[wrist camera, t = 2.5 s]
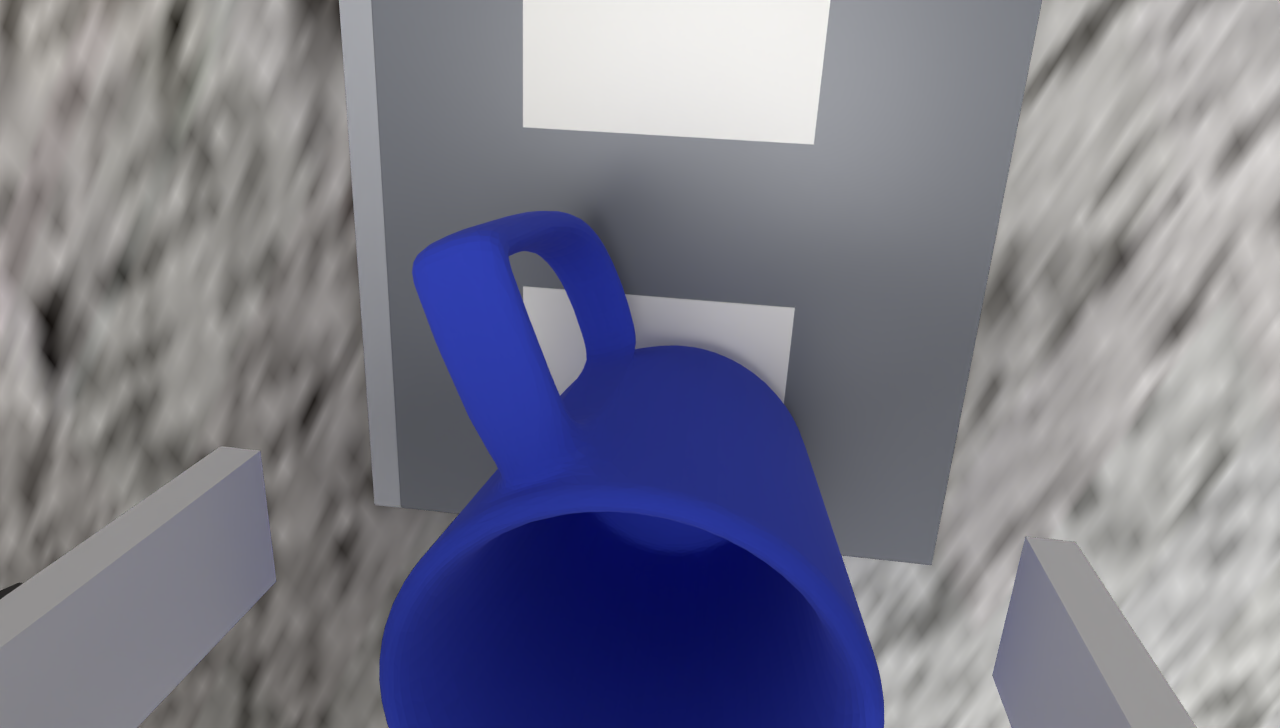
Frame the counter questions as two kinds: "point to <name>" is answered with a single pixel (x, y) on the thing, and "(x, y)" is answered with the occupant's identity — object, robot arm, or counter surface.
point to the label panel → (700, 212)
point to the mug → (617, 527)
